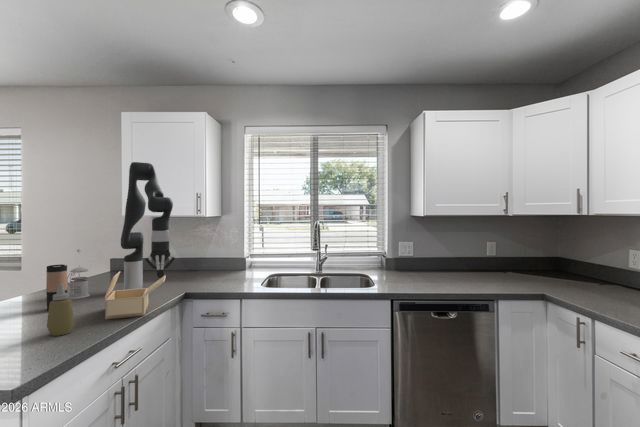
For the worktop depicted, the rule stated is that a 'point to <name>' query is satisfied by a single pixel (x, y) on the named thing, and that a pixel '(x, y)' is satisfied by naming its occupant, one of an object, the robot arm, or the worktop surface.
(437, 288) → the worktop surface
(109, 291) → the flap
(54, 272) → the travel mug
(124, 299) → the carton
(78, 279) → the french press
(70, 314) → the squeeze bottle
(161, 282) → the flap
